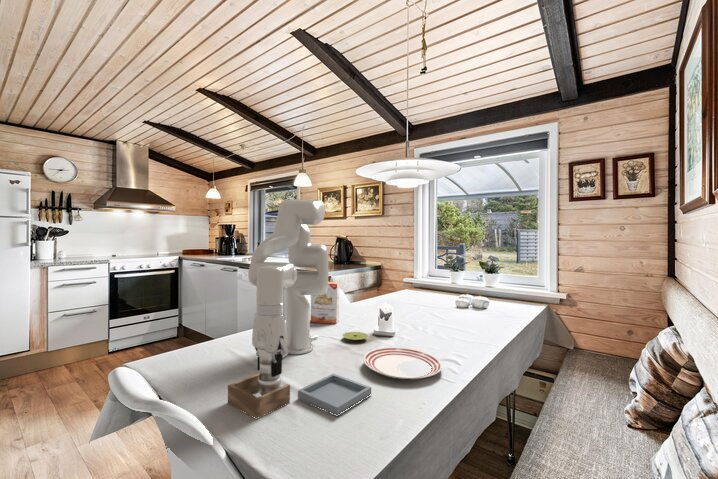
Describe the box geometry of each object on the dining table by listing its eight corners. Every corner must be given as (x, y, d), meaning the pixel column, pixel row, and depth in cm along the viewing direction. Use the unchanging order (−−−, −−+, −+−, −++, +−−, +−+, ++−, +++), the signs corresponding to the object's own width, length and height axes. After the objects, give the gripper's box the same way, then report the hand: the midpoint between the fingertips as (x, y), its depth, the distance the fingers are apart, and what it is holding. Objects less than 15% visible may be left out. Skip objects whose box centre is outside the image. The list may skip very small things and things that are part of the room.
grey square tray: (333, 381, 111) (333, 373, 111) (371, 395, 101) (371, 387, 101) (297, 398, 99) (298, 390, 99) (337, 417, 90) (337, 407, 90)
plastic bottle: (275, 400, 95) (276, 329, 94) (252, 397, 97) (253, 326, 96) (284, 390, 101) (286, 322, 101) (263, 387, 103) (264, 320, 102)
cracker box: (310, 322, 179) (310, 282, 178) (313, 319, 185) (314, 280, 184) (336, 324, 176) (337, 283, 176) (339, 321, 182) (339, 281, 182)
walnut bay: (261, 388, 104) (261, 372, 104) (289, 402, 96) (290, 385, 96) (227, 402, 96) (227, 385, 95) (256, 419, 88) (256, 400, 88)
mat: (353, 334, 161) (354, 330, 161) (373, 339, 154) (373, 335, 154) (337, 339, 152) (337, 335, 152) (357, 345, 145) (357, 341, 145)
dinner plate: (445, 360, 131) (445, 352, 131) (437, 392, 105) (437, 381, 105) (375, 351, 140) (375, 343, 139) (352, 378, 114) (352, 368, 114)
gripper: (241, 306, 100) (240, 368, 101) (279, 317, 90) (278, 385, 90) (262, 302, 106) (262, 360, 107) (300, 311, 96) (299, 376, 96)
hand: (269, 371), depth 99 cm, fingers closed on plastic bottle, 5 cm apart
